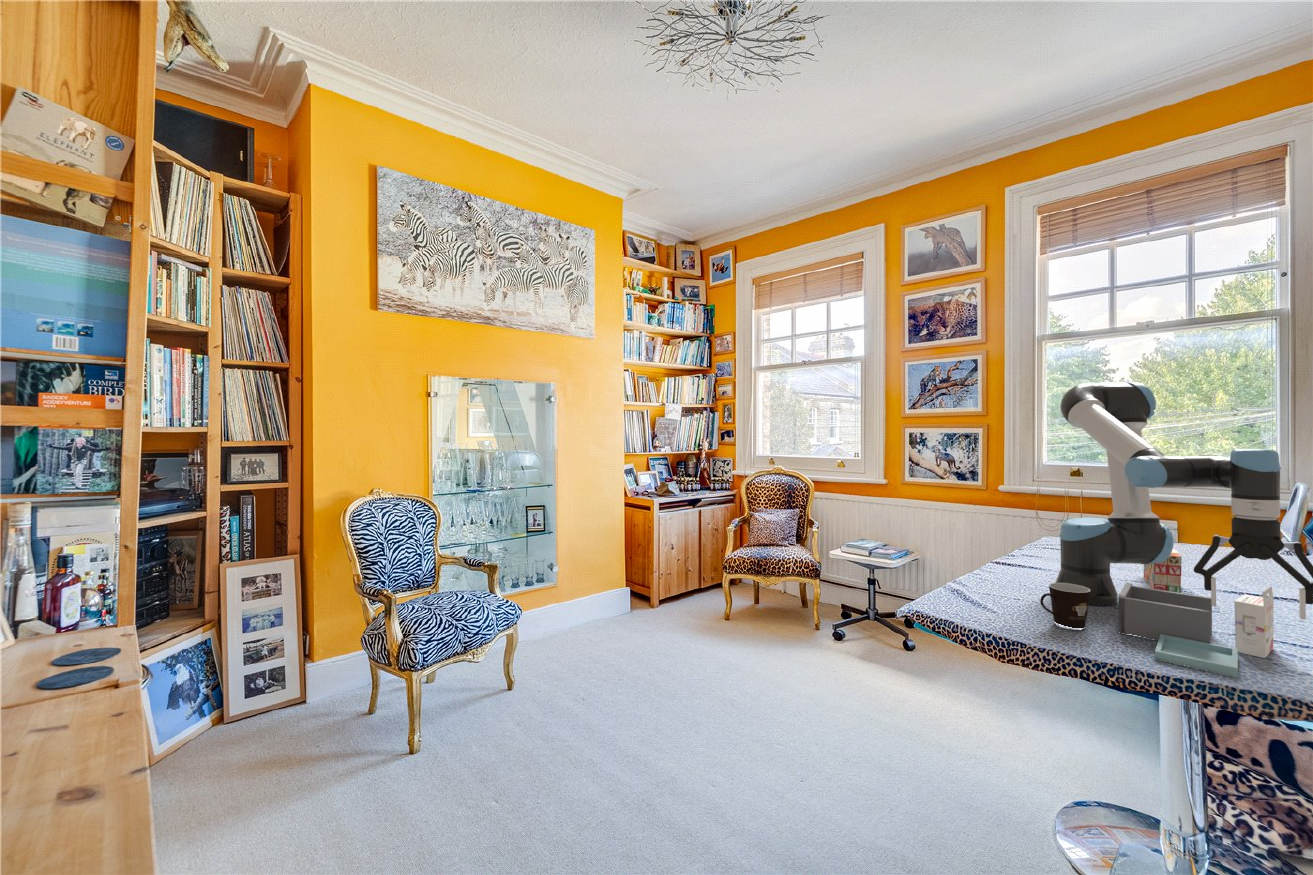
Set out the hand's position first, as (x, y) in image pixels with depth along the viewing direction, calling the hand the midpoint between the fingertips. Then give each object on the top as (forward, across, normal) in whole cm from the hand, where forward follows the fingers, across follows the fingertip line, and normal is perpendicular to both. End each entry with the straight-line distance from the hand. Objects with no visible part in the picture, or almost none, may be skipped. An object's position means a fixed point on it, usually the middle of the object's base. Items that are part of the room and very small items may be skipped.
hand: (1256, 611), depth 126 cm
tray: (+9, -9, -14) cm, 19 cm away
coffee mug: (+9, -34, -10) cm, 37 cm away
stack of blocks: (+9, -20, +52) cm, 56 cm away
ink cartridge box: (+9, 0, 0) cm, 9 cm away
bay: (+9, -15, 0) cm, 18 cm away
